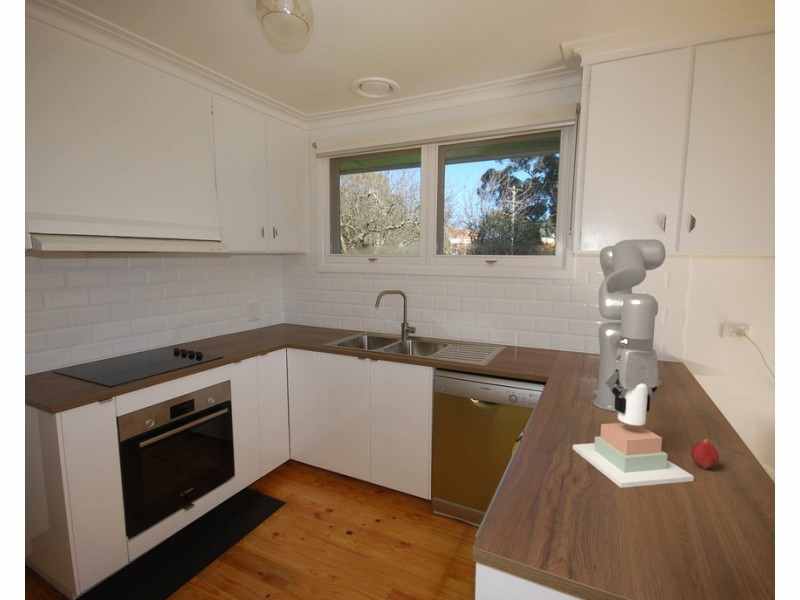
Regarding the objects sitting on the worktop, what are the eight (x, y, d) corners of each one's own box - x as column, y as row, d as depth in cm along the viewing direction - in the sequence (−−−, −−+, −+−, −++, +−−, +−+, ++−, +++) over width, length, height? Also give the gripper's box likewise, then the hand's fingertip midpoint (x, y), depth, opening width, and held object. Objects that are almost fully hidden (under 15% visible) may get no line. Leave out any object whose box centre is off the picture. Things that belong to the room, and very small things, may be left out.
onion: (684, 464, 107) (687, 436, 106) (699, 460, 109) (701, 432, 108) (707, 475, 101) (710, 445, 100) (722, 471, 103) (725, 442, 102)
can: (620, 414, 110) (622, 372, 109) (647, 420, 106) (650, 377, 105) (615, 422, 105) (617, 378, 104) (643, 428, 101) (646, 383, 100)
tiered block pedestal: (572, 448, 115) (574, 418, 114) (634, 444, 118) (636, 414, 117) (620, 487, 96) (623, 451, 95) (693, 480, 99) (696, 445, 98)
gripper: (615, 348, 99) (611, 418, 101) (677, 346, 101) (672, 414, 103) (596, 342, 106) (593, 407, 108) (654, 340, 109) (650, 403, 111)
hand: (631, 409), depth 106 cm, fingers closed on can, 6 cm apart
